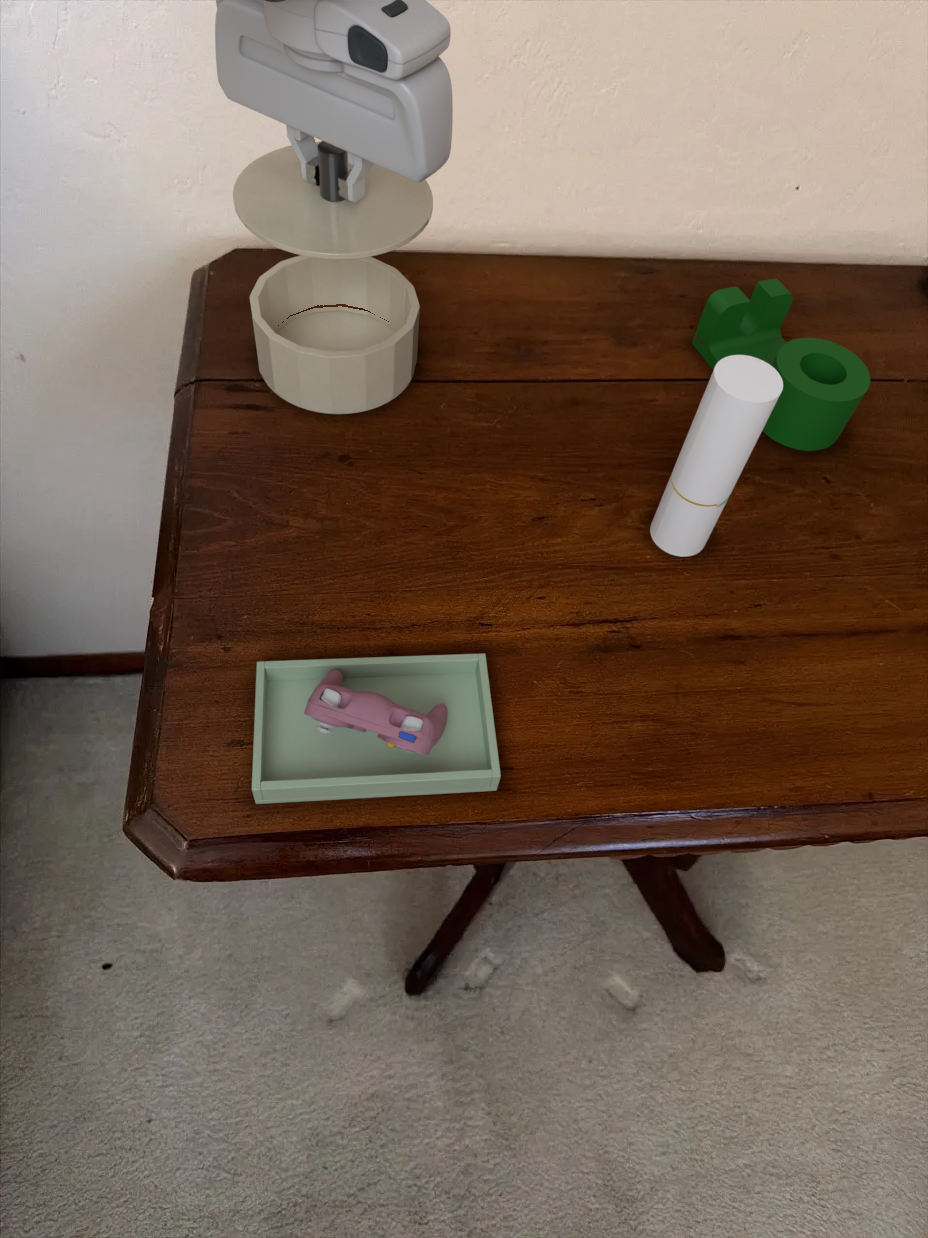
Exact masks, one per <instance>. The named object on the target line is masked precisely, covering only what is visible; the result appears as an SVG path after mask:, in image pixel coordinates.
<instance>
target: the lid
mask: <svg viewBox="0 0 928 1238" xmlns="http://www.w3.org/2000/svg"><path fill="white" fill-rule="evenodd" d="M315 142H316V144H317V151H318V169H319V186H316V185H314V184H311V183H309V182H307V181H305V180H303V179H302V173H301V161H300V160H299V158H298V156H297V154H296V152H295V150H294V148H293V146H292V145H288V146H284V147H281V148H277V149H275V150H272V151H269V152H267V153H265V154H263V155H261V156H259V157H257V158H256V159H254V160H253V161H252V162H250V163H249V164H248V165H247V166H245V168H243V170H242V171H241V172H240V173H239V175H238V176H237V178H236V180H235V183H234V184H233V185H234V186H233V190H232V201H233V207H234V210H235V213H236V215H237V217H238V219H239V221H240V222H241V223H242V225H243V226H244V228H246V229H247V230H248V231H249V232H250V233H251V234H253V235H254V236H255V237H257V238H258V239H260V240H261V241H263V242H265V243H267V244H268V245H270V246H272V247H275V248H277V249H278V250H279V249H280V250H282V251H285V252H288V253H291V254H293V255H297V256H299V255H302V256H307V257H313V258H320V259H335V260H338V259H357V258H365V257H376V256H379V255H382V254H387V253H389V252H392V251H394V250H397V249H400V248H401V247H403V246H405V245H407V244H409V243H410V242H411V241H413V240H414V239H416V238H417V237H418V236H419V235H420V234H421V233H422V232H423V231H424V230H425V229H426V227H427V226H428V225H429V222H430V220H431V218H432V215H433V211H434V197H433V196H434V195H433V192H432V189H431V187H430V185H429V183H428V181H427V180H426V179H425V180H424V181H422V182H415V181H412V180H410V179H408V178H406V177H403V176H401V175H399V174H397V173H394V172H392V171H390V170H387V169H385V168H383V167H381V166H378V165H376V164H374V165H373V166H372V168H371V169H370V171H369V172H368V174H367V175H366V176H365V194H364V197H363V198H362V199H360V200H359V201H358V202H356V203H353V202H351V201H349V200H347V199H345V198H343V197H341V196H339V193H338V191H339V189H340V188H339V186H338V178H339V177H340V176H341V175H343V174H346V172H347V171H349V170H350V169H353V167H354V164H353V165H352V164H350V163H349V162H348V152H347V151H345V150H342V149H340V148H338V147H335V146H333V145H331V144H329V143H326V142H324V141H322V140H320V141H315Z"/></svg>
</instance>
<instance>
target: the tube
mask: <svg viewBox="0 0 928 1238" xmlns="http://www.w3.org/2000/svg"><path fill="white" fill-rule="evenodd" d="M712 370H713V369H712ZM782 390H783V380H782V378H781V376H780V374H779V373H778V372H777V371H776V369H775V368H773V367H772V366H771V365H770V364H768V363H766V362H765V361H763V360H760V359H758V358H755V357H752V356H747V355H731V356H728V357H725V358H723V359H721V360H720V361H719V362H718V363H717V364H716V366H715V368H714V370H713V371H712V373H711V375H710V378H709V380H708V383H707V385H706V388H705V391H704V392H703V395H702V398H701V400H700V402H699V405H698V407H697V410H696V412H695V414H694V418H693V420H692V422H691V425H690V427H689V430H688V432H687V434H686V437H685V439H684V441H683V445H682V447H681V450H680V452H679V454H678V457H677V459H676V462H675V464H674V466H673V469H672V472H671V474H670V476H669V479H668V481H667V484H666V486H665V489H664V491H663V494H662V496H661V499H660V501H659V504H658V506H657V508H656V511H655V513H654V516H653V519H652V521H651V524H650V527H649V533H650V536H651V539H652V541H653V543H655V545H656V546H657V547H658V548H659V549H660V550H662V551H663V552H665V553H667V554H669V555H672V556H675V557H681V558H682V557H683V558H684V557H692V556H696V555H697V554H699V553H701V552H702V551H703V549H704V548H705V546H706V545H707V542H708V541H709V539H710V536H711V534H712V532H713V531H714V528H715V526H716V525H717V522H718V520H719V519H720V516H721V514H722V512H723V510H724V508H725V506H726V505H727V503H728V500H729V498H730V496H731V495H732V492H733V490H734V488H735V486H736V484H737V482H738V480H739V478H740V476H741V474H742V472H743V470H744V468H745V466H746V464H747V463H748V460H749V458H750V456H751V454H752V452H753V450H754V448H755V447H756V445H757V442H758V440H759V438H760V436H761V434H762V432H763V431H762V430H763V428H764V426H765V424H766V422H767V420H768V418H769V416H770V414H771V412H772V410H773V408H774V406H775V404H776V402H777V400H778V398H779V396H780V394H781V392H782Z"/></svg>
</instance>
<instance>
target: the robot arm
mask: <svg viewBox="0 0 928 1238" xmlns="http://www.w3.org/2000/svg"><path fill="white" fill-rule="evenodd" d="M215 4H216V9H217V10H216V12H215V23H214V43H215V48H214V49H215V64H216V76H217V81H218V84H219V86H220V89H222V91H223V94H224V95H225V96H226V98H227V99H228V100H230V101H232V102H234V103H236V104H239V105H241V106H243V107H245V108H248V109H250V110H252V111H254V112H256V113H258V114H261V115H264V116H266V117H268V118H270V119H272V120H275V121H277V122H279V123H282V124H283V125H285V127H286V136H287V138H288V140H289V143H290V144H291V146H293V148H294V150H295V152H296V154H297V156H298V158H299V160H300V161H301V173H302V179H303V180H305V181H307V182H309V183H311V184H314V185H316V186H319V169H318V151H317V144H316V142H317V141H316V139H318V140H320V141H324V142H326V143H329V144H331V145H333V146H335V147H338V148H340V149H342V150H345V151H347V152H348V162H349V163H350V164H352V165H353V164H354V167H353V169H350V170H349V171H347V172H346V174H343V175H341V176H340V177H339V178H338V186H339V188H340V189H339V191H338V193H339V196H341V197H343V198H345V199H347V200H349V201H351V202H353V203H356V202H358V201H359V200H360V199H362V198H363V197H364V194H365V176H366V175H367V174H368V172H369V171H370V169H371V168H372V166H373V165H374V164H376V165H378V166H381V167H383V168H385V169H387V170H390V171H392V172H394V173H397V174H399V175H401V176H403V177H406V178H408V179H410V180H412V181H415V182H422V181H424V180H426V179H428V178H430V177H431V176H433V175H434V174H435V173H437V172H438V171H439V170H440V169H442V167H443V166H445V164H446V163H447V162H448V160H449V158H450V155H451V151H452V142H453V139H452V138H453V122H454V121H453V114H454V113H453V110H454V109H453V108H454V107H453V85H452V80H451V76H450V73H449V69H448V67H447V65H446V64H445V62H444V61H443V60H442V58H441V57H440V56H441V55H442V54H443V53H444V52H445V51H447V49H448V48H449V47H450V42H451V34H452V30H451V24H450V22H449V19H447V18H446V16H445V15H444V14H443V13H441V11H439V10H438V9H437V8H435V6H433V5H432V4H430V3H429V2H428V1H427V0H215Z"/></svg>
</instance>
